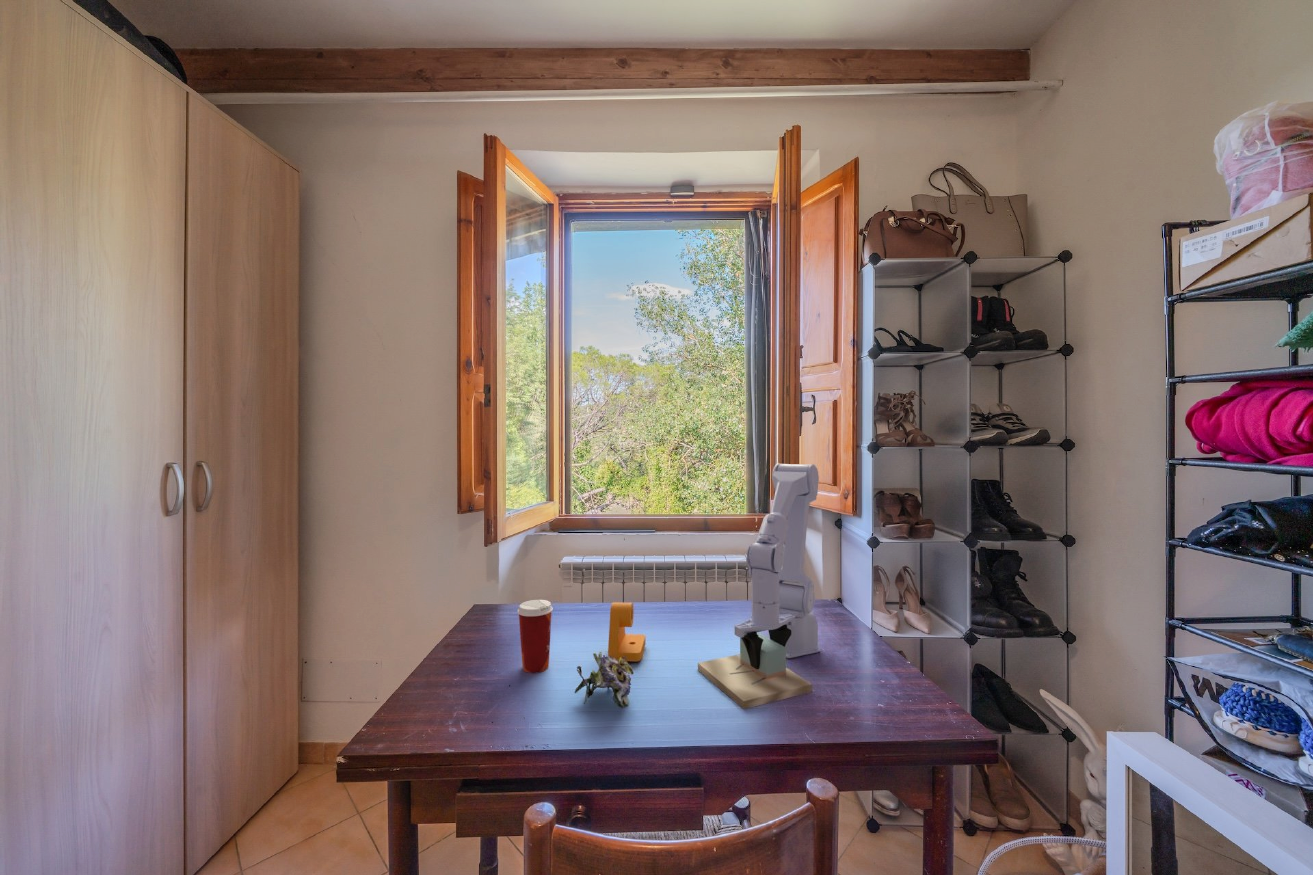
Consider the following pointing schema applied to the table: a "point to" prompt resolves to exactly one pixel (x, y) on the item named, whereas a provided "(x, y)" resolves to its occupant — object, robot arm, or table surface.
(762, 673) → the block
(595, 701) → the table surface
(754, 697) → the birch board
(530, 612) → the paper cup
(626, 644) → the bracket
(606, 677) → the passion flower
